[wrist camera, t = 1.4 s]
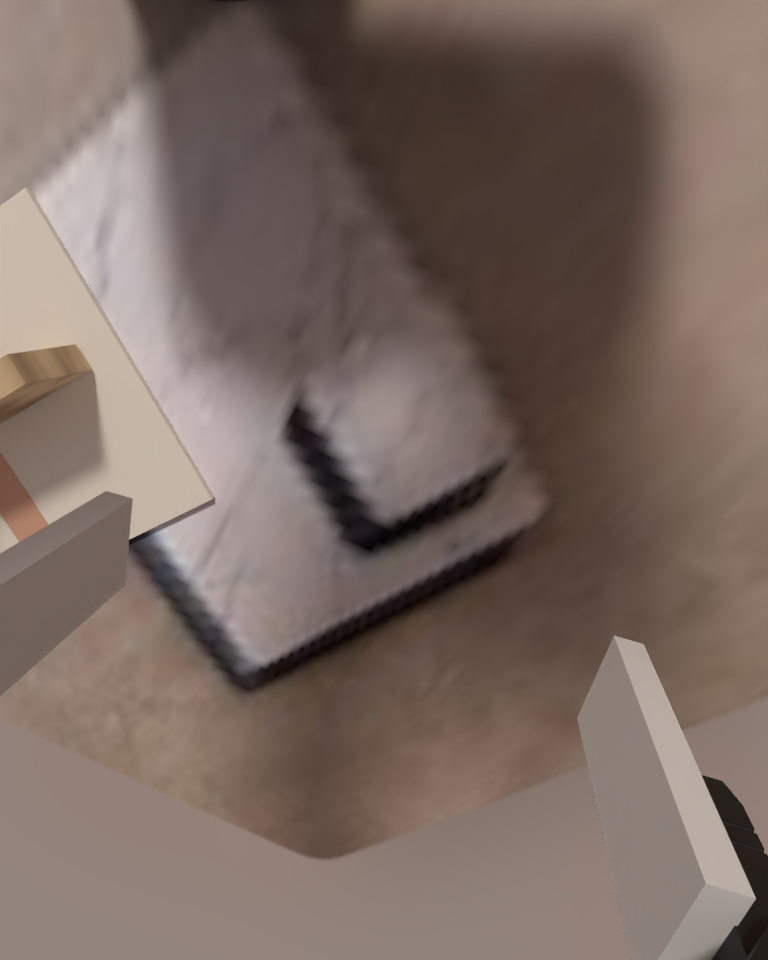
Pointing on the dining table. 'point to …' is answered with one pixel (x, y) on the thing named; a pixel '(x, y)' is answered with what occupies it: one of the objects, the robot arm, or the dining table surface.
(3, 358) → the swing panel
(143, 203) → the dining table surface
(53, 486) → the card
